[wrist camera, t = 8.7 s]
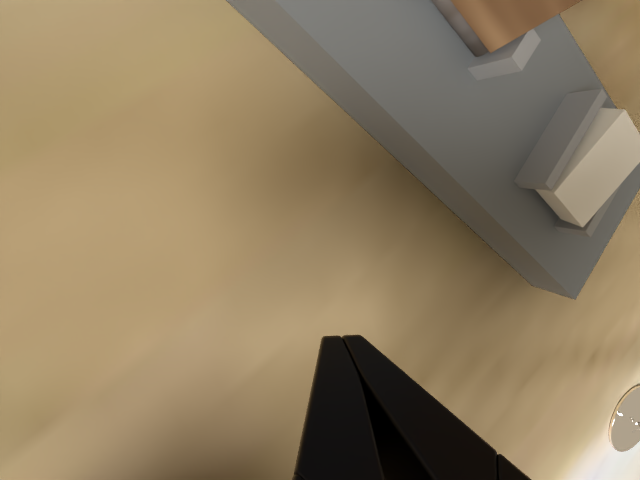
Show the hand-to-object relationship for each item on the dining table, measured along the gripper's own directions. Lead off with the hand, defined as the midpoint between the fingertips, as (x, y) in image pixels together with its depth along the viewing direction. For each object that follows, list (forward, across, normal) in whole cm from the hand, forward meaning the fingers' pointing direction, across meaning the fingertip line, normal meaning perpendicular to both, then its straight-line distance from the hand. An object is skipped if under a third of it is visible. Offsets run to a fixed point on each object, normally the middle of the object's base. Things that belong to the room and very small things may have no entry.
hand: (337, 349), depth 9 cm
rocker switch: (+12, +15, -1) cm, 20 cm away
